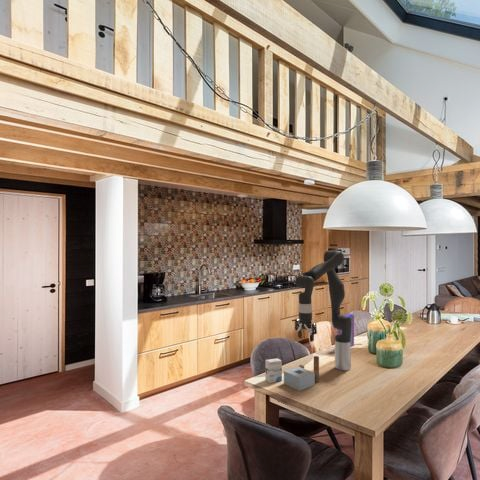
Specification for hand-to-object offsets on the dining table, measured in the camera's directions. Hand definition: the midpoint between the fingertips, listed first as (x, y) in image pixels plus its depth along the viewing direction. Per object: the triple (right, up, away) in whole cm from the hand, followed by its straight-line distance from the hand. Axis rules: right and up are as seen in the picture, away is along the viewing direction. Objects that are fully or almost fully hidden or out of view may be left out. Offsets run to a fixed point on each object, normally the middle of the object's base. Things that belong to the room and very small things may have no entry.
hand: (305, 339), depth 198 cm
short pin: (0, -25, +11) cm, 27 cm away
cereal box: (+43, -25, +69) cm, 85 cm away
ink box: (-18, -25, +4) cm, 31 cm away
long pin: (+6, -25, +2) cm, 25 cm away
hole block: (-4, -24, -2) cm, 25 cm away
